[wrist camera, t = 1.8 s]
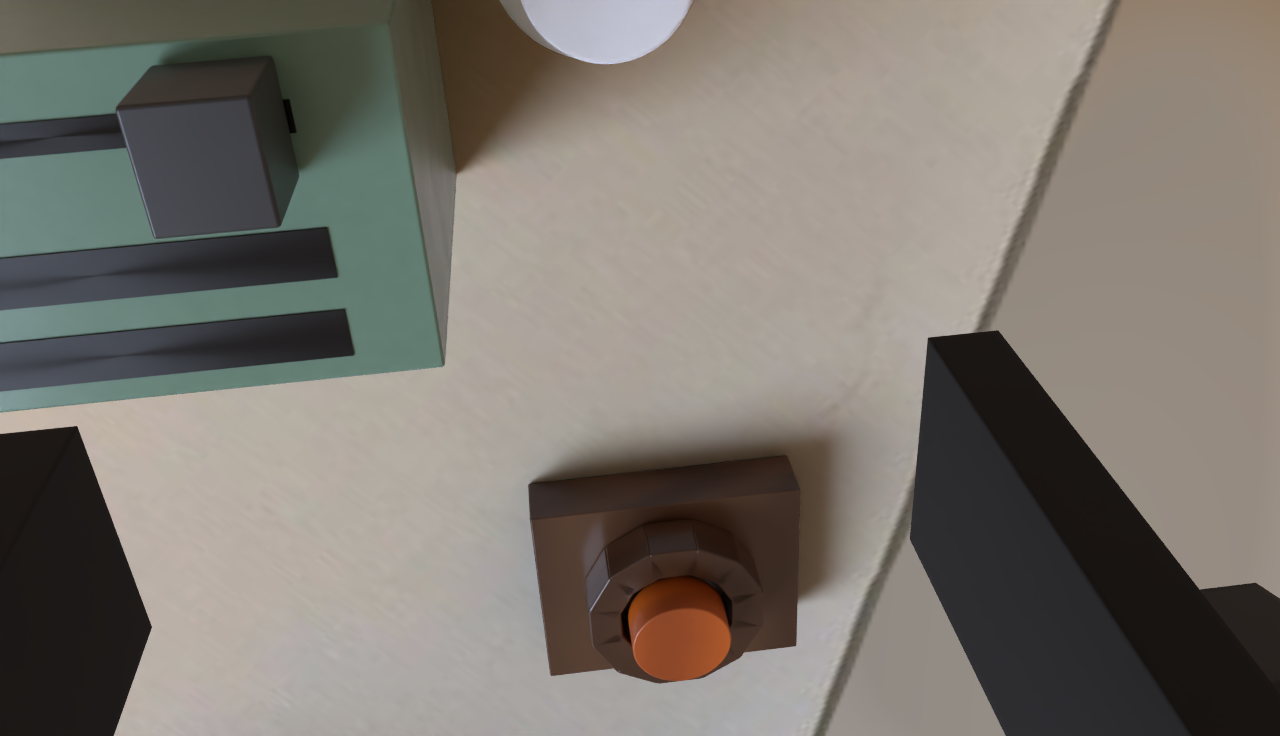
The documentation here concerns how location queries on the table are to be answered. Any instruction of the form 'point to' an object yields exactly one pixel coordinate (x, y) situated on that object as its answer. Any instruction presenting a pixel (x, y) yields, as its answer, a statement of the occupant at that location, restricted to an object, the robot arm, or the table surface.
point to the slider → (210, 146)
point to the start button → (678, 628)
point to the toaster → (233, 261)
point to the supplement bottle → (599, 26)
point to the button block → (665, 555)
